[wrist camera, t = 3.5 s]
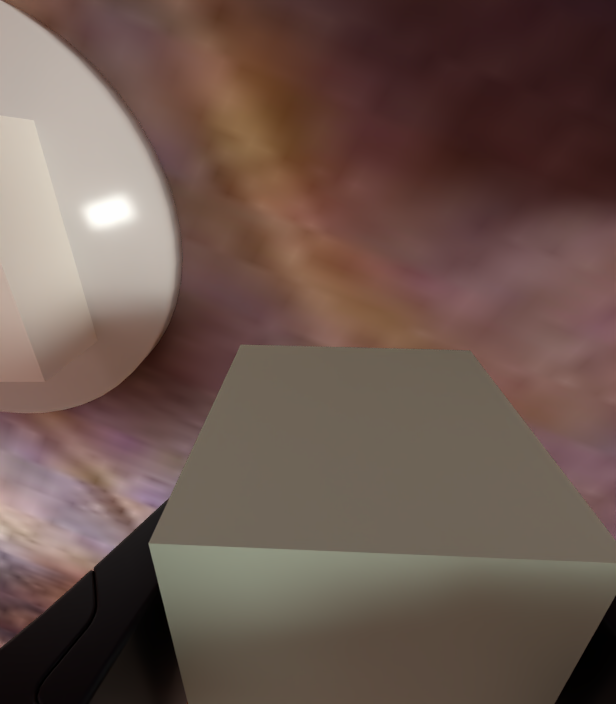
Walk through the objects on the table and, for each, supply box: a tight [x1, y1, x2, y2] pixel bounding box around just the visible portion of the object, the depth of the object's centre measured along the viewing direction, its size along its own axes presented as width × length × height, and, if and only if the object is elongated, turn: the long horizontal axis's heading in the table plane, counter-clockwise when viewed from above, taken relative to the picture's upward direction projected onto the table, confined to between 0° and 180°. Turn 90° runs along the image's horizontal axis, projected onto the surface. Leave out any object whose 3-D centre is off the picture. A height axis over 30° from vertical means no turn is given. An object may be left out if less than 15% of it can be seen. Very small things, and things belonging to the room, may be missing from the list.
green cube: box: [148, 345, 616, 704], centre depth 7 cm, size 5×5×5 cm
